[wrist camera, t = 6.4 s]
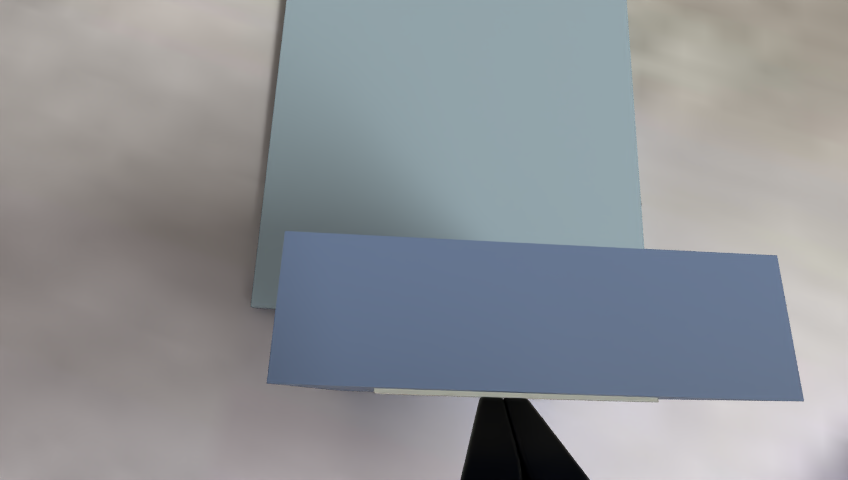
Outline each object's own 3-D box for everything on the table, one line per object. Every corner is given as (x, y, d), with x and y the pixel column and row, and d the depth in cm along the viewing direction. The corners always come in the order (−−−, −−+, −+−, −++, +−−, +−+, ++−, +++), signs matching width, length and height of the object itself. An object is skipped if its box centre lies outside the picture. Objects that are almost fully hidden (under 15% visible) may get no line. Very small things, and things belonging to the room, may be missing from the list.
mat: (643, 324, 17) (649, 323, 17) (254, 307, 16) (250, 306, 16) (617, -66, 21) (621, -74, 20) (300, -93, 20) (298, -102, 20)
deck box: (559, 400, 16) (804, 406, 7) (340, 392, 16) (266, 389, 6) (556, 335, 17) (777, 255, 7) (345, 326, 16) (284, 230, 7)
